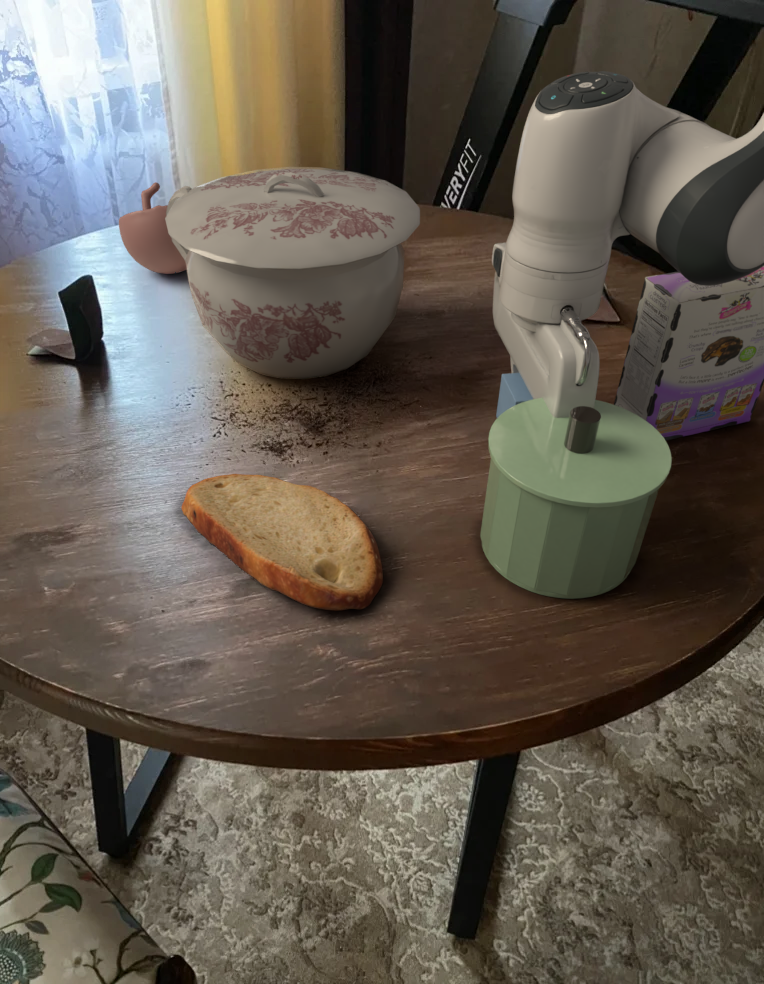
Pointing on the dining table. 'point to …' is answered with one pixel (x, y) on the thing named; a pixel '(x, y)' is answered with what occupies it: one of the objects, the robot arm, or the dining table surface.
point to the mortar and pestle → (150, 237)
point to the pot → (560, 540)
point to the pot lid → (580, 454)
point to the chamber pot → (294, 264)
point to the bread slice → (289, 538)
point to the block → (512, 392)
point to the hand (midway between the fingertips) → (529, 414)
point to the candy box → (695, 354)
